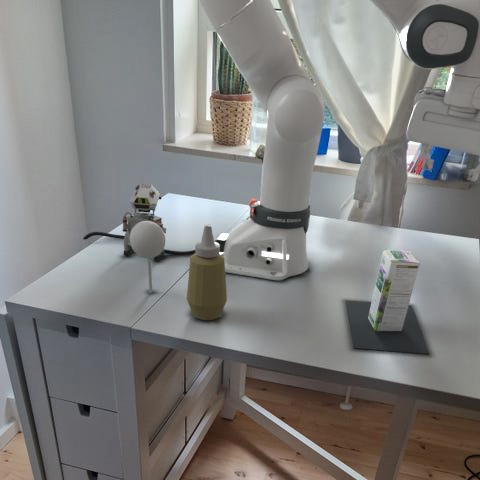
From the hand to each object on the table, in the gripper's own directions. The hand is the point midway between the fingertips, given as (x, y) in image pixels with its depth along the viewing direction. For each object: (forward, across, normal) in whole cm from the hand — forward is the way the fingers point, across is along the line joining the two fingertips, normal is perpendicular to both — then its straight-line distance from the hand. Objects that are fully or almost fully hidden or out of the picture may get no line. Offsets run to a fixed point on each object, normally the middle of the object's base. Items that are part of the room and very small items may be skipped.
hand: (448, 174), depth 111 cm
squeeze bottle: (+26, -27, -40) cm, 55 cm away
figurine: (+26, -58, -27) cm, 69 cm away
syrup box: (+26, +2, -18) cm, 32 cm away
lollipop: (+26, -42, -41) cm, 64 cm away
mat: (+26, +2, -18) cm, 32 cm away
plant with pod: (+26, -52, +13) cm, 60 cm away
